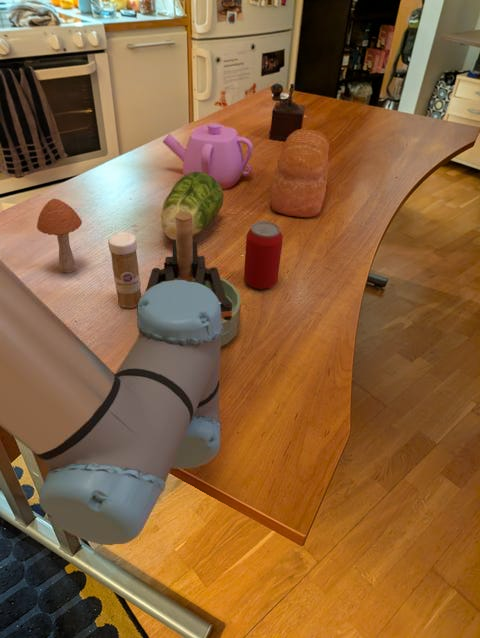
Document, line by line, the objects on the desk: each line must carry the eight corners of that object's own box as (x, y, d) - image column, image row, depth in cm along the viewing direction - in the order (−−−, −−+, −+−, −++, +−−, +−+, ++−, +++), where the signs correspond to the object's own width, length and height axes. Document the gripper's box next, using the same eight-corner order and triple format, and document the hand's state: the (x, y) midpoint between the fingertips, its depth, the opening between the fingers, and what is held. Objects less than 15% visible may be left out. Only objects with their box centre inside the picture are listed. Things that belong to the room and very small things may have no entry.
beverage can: (282, 279, 93) (290, 226, 85) (267, 295, 89) (273, 241, 81) (253, 268, 96) (258, 216, 88) (237, 284, 91) (240, 230, 83)
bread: (266, 214, 114) (272, 153, 104) (280, 173, 134) (286, 119, 124) (320, 222, 112) (331, 161, 102) (327, 179, 132) (337, 125, 122)
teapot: (259, 184, 127) (263, 130, 118) (191, 197, 119) (190, 141, 109) (226, 159, 140) (227, 109, 130) (162, 170, 131) (158, 118, 122)
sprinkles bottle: (122, 312, 83) (113, 247, 74) (114, 298, 86) (103, 234, 77) (146, 304, 85) (140, 241, 76) (137, 291, 88) (129, 228, 79)
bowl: (149, 357, 74) (146, 329, 71) (154, 299, 86) (152, 272, 82) (242, 355, 76) (244, 327, 72) (235, 298, 87) (236, 272, 84)
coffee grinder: (271, 129, 163) (276, 73, 151) (302, 132, 162) (309, 76, 150) (264, 144, 151) (269, 84, 140) (298, 148, 150) (306, 88, 138)
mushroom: (79, 253, 96) (65, 185, 87) (97, 271, 92) (84, 201, 82) (42, 265, 92) (23, 196, 83) (58, 284, 88) (40, 213, 78)
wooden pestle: (173, 330, 77) (167, 222, 64) (174, 313, 80) (168, 208, 67) (200, 329, 77) (199, 222, 64) (199, 313, 80) (198, 208, 67)
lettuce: (148, 249, 99) (144, 200, 92) (181, 207, 114) (180, 163, 107) (199, 258, 97) (199, 210, 90) (226, 215, 113) (227, 170, 105)
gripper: (125, 370, 59) (139, 268, 77) (244, 367, 61) (231, 267, 79) (118, 327, 55) (135, 228, 72) (247, 324, 56) (233, 228, 74)
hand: (185, 249), depth 76 cm, fingers closed on wooden pestle, 2 cm apart
